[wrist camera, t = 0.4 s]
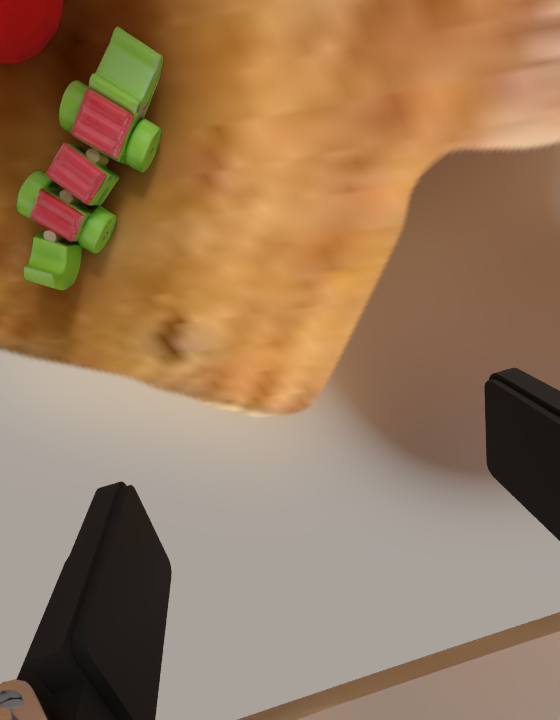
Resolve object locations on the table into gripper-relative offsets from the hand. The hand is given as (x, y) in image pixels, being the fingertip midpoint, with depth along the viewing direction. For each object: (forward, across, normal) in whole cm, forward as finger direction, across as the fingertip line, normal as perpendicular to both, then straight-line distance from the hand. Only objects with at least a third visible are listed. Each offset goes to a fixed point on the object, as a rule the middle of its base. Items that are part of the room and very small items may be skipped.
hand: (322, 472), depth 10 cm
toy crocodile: (+31, +9, -12) cm, 34 cm away
